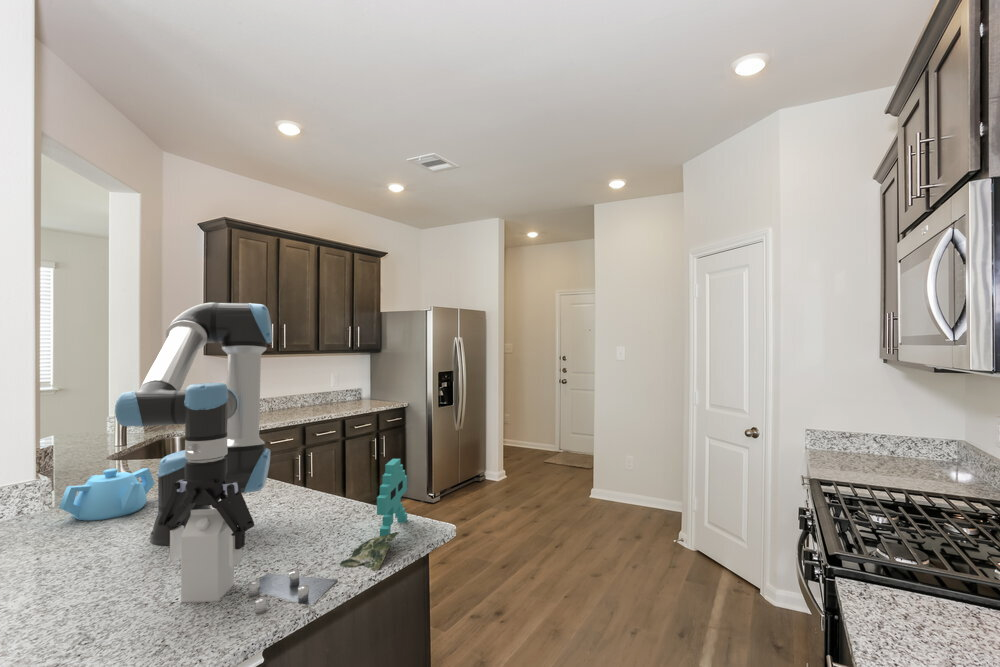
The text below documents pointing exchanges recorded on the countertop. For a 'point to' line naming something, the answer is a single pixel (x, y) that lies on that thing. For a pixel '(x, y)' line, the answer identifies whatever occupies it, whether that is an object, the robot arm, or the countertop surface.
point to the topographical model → (370, 553)
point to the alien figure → (392, 495)
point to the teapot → (108, 495)
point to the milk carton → (205, 557)
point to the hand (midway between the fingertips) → (205, 562)
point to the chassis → (289, 588)
